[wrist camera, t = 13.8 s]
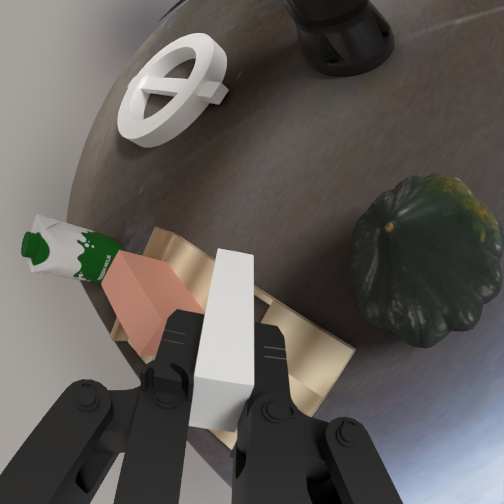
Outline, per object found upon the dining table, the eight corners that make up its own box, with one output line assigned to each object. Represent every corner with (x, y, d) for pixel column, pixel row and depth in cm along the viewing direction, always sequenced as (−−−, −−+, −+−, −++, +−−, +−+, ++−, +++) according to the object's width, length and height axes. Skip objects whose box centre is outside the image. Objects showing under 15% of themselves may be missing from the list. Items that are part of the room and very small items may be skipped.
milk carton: (116, 292, 54) (20, 275, 37) (98, 270, 59) (13, 251, 42) (133, 251, 53) (35, 223, 37) (114, 232, 58) (27, 205, 42)
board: (130, 337, 50) (109, 336, 46) (176, 233, 48) (155, 226, 44) (268, 471, 32) (249, 484, 28) (356, 349, 31) (346, 353, 27)
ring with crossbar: (137, 88, 70) (124, 79, 66) (221, 28, 57) (209, 16, 53) (128, 170, 61) (111, 162, 57) (235, 102, 48) (219, 87, 44)
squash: (543, 291, 17) (502, 149, 13) (422, 399, 22) (325, 316, 17) (467, 228, 30) (404, 125, 25) (378, 309, 35) (296, 226, 30)
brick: (147, 291, 47) (100, 283, 39) (166, 261, 46) (119, 249, 38) (190, 353, 40) (139, 356, 33) (214, 322, 39) (162, 320, 32)
